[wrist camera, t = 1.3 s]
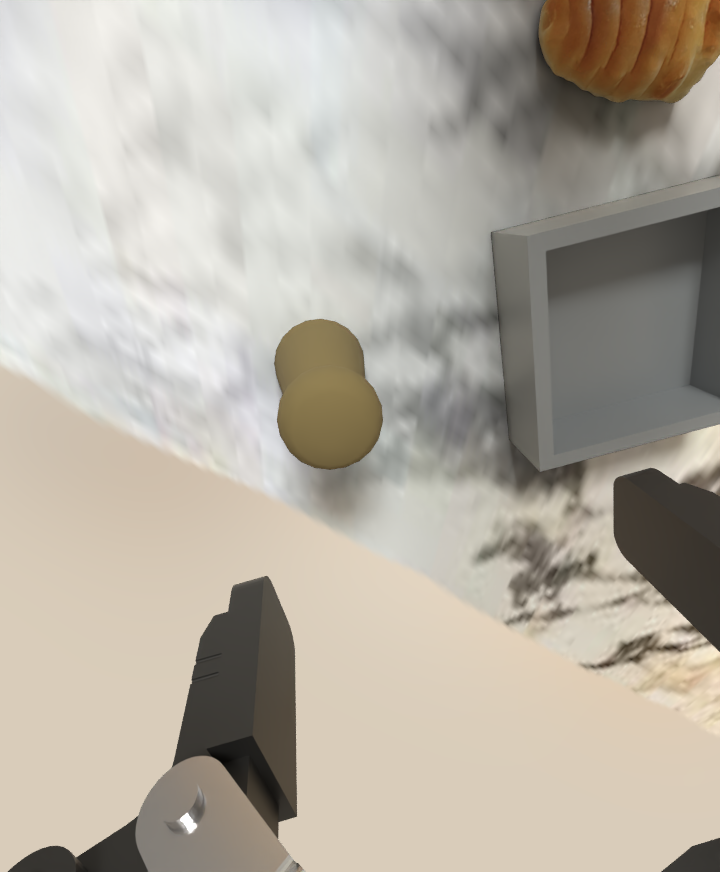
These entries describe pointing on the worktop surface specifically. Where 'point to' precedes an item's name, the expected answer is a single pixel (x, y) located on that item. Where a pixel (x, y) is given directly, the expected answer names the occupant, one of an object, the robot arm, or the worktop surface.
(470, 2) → the worktop surface
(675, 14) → the pastry
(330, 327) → the cork
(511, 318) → the bin
